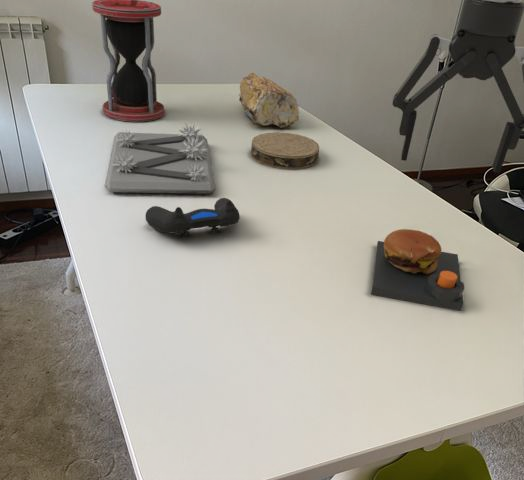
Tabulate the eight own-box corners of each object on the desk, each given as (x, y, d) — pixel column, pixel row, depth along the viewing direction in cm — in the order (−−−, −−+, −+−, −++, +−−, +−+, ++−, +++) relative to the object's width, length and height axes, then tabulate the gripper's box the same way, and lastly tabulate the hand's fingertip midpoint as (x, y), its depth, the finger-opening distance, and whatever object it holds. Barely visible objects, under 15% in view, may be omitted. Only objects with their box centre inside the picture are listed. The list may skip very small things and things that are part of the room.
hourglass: (177, 115, 149) (175, 7, 133) (129, 126, 139) (120, 11, 123) (138, 100, 156) (132, -3, 140) (90, 110, 146) (77, -1, 131)
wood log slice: (305, 174, 123) (307, 161, 121) (240, 159, 127) (241, 146, 125) (325, 153, 135) (327, 140, 133) (265, 140, 138) (266, 128, 137)
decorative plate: (115, 141, 129) (112, 110, 125) (206, 144, 133) (207, 113, 128) (105, 195, 107) (101, 158, 102) (215, 197, 110) (216, 161, 106)
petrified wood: (231, 106, 157) (240, 68, 152) (273, 116, 162) (283, 80, 157) (250, 126, 143) (260, 85, 137) (295, 136, 148) (307, 97, 142)
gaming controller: (147, 241, 99) (161, 237, 90) (141, 208, 98) (154, 201, 89) (233, 228, 105) (253, 223, 96) (228, 198, 104) (248, 190, 95)
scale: (455, 261, 97) (460, 246, 95) (461, 311, 85) (467, 295, 83) (376, 247, 99) (379, 232, 97) (370, 295, 86) (374, 278, 84)
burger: (399, 242, 98) (405, 218, 95) (447, 262, 93) (455, 238, 91) (369, 261, 92) (375, 236, 89) (419, 284, 87) (426, 258, 84)
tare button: (453, 281, 86) (457, 272, 85) (454, 290, 84) (458, 280, 83) (436, 278, 87) (440, 269, 85) (437, 287, 85) (440, 277, 83)
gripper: (395, -9, 68) (364, 160, 81) (608, 11, 65) (539, 184, 78) (397, -15, 74) (368, 144, 87) (592, 4, 71) (531, 166, 84)
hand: (449, 163), depth 83 cm, fingers open, 13 cm apart
